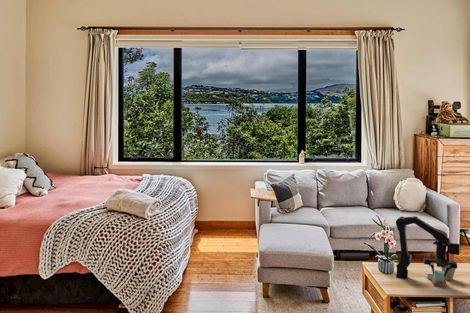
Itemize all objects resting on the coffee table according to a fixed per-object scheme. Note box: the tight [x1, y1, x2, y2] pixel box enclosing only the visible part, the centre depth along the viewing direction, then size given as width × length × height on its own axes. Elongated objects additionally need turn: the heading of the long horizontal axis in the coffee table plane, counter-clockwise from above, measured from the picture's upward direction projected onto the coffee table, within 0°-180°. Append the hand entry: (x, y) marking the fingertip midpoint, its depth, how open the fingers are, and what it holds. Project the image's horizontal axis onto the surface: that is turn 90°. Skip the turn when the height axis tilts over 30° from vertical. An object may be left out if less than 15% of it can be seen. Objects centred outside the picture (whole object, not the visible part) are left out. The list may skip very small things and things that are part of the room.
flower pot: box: [440, 266, 457, 281], centre depth 281 cm, size 9×9×9 cm
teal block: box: [434, 269, 444, 282], centre depth 272 cm, size 5×5×5 cm
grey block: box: [424, 270, 435, 281], centre depth 282 cm, size 4×4×4 cm
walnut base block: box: [431, 277, 447, 288], centre depth 273 cm, size 7×7×4 cm
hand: (439, 275), depth 272 cm, fingers open, 6 cm apart
